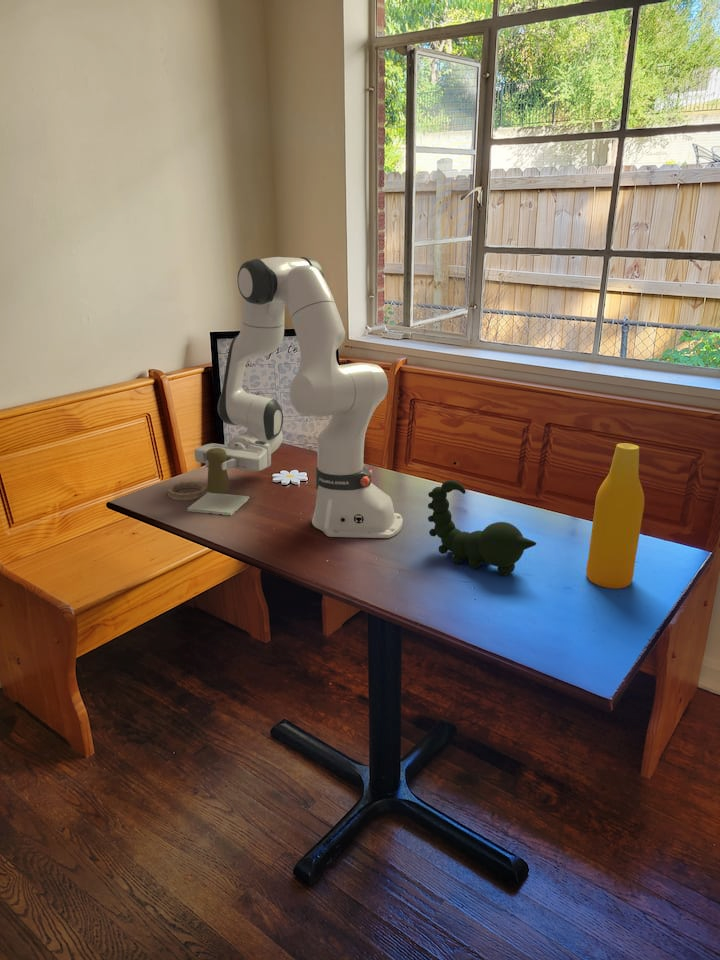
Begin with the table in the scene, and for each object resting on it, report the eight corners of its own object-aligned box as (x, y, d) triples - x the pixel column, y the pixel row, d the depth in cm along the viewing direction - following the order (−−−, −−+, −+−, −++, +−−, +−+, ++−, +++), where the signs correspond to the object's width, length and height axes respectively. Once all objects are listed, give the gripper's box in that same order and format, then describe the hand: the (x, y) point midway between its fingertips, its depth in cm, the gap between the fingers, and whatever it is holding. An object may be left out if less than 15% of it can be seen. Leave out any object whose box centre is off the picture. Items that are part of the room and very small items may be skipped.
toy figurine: (422, 563, 153) (525, 589, 138) (419, 482, 148) (525, 500, 132) (445, 549, 160) (545, 573, 145) (442, 471, 155) (547, 487, 139)
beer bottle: (576, 577, 144) (593, 445, 134) (600, 564, 150) (617, 436, 140) (617, 594, 137) (638, 456, 128) (640, 580, 143) (662, 446, 133)
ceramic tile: (249, 499, 185) (248, 496, 185) (231, 515, 174) (230, 512, 174) (207, 495, 188) (207, 492, 188) (187, 511, 177) (187, 508, 177)
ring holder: (213, 488, 193) (213, 483, 192) (196, 501, 183) (196, 496, 183) (179, 485, 195) (179, 480, 195) (161, 497, 185) (160, 492, 185)
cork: (224, 494, 176) (221, 453, 173) (202, 492, 178) (199, 451, 174) (234, 486, 182) (231, 446, 178) (213, 484, 183) (210, 444, 179)
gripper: (211, 435, 191) (180, 448, 179) (275, 444, 184) (247, 459, 172) (212, 456, 193) (181, 471, 182) (275, 466, 186) (248, 483, 174)
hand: (214, 465), depth 177 cm, fingers closed on cork, 3 cm apart
